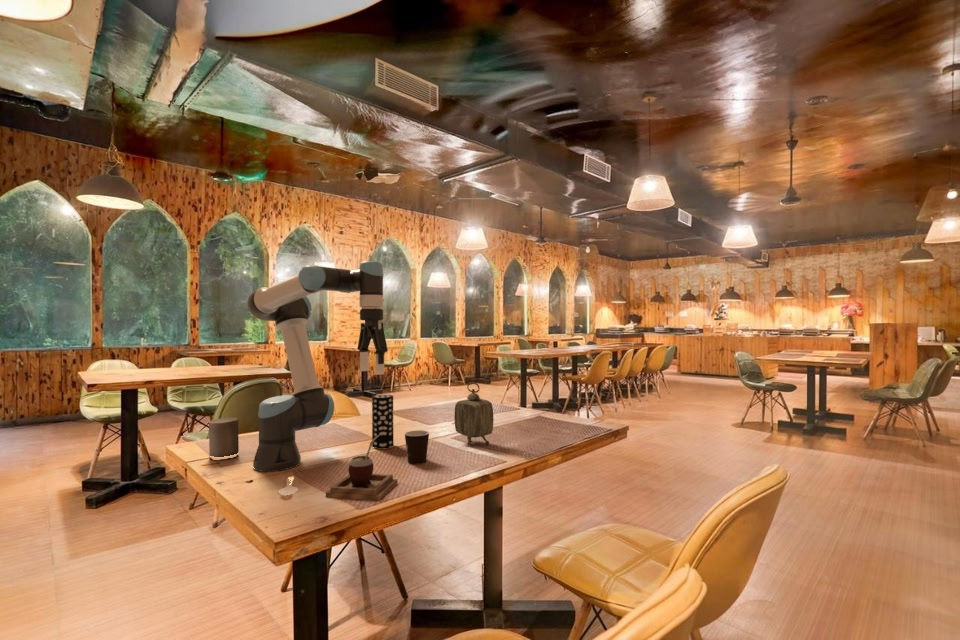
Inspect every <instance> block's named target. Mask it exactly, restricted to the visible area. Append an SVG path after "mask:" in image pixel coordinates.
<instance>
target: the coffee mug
mask: <svg viewBox="0 0 960 640" xmlns="http://www.w3.org/2000/svg"><path fill="white" fill-rule="evenodd" d="M429 437H430V432H429V431H427V430H421V429H420V430H419V429H418V430H410V431H406V432H405V433H404V438H405V439H404V441H405V448H406V456H407V463H408V464H411V465H421V464H425V463H427V458H428V457H427V456H428V447H429Z"/></svg>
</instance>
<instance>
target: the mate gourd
mask: <svg viewBox="0 0 960 640" xmlns="http://www.w3.org/2000/svg"><path fill="white" fill-rule="evenodd" d="M380 435H381V434H379V435H378V436H376V437H375V438H374V439H373V440H372V439H371V441H370V443H369V447H368V450H367V453H366V455H359V456H355V457H352V459H351V460H350V462H349V463H348V469H347V470H348V475H350V477H351V482H352V486H351V487H356V488H357V487H360V486H361V487H364V488H368V486H367V484H370V483H371V481H370V477H371V476H372V474H374V463H373V462H374V461H373V460H372V459H371V457H370V456H369V454H370V453H371V452H370V451H371V449H372V445H373V442H374V440H375V439H376V438H377V437H379V436H380Z"/></svg>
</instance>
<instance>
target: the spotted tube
mask: <svg viewBox="0 0 960 640" xmlns="http://www.w3.org/2000/svg"><path fill="white" fill-rule="evenodd" d="M371 434H372V435H371V437H372V439H371V441H372V440H373V439H374V438H375V437H376V436H378V435H379V434H381V435H380V436H379V437H377V438H376V439H375V440H374V442H373V445H372V446H371V448H372V447H374V448H373V449H375V448H388V449H390V448H389V447H391V448H393V447H394V446H393V445H394V395H392V394H375V395H373V396H371ZM392 446H393V447H392Z"/></svg>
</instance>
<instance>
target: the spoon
mask: <svg viewBox="0 0 960 640" xmlns="http://www.w3.org/2000/svg"><path fill="white" fill-rule="evenodd" d="M290 481H291V480H290ZM290 481H289V479H287V478H286V486H285V487H283V488H282V487H281V489H279V490H278V495H280V496H284V497H285V496H286V497H287V495H288V496H291V494H292V495H294V494H296V493H297V492H298V490H299V489H298V487H297V486H293V484H291V485H289V484H290V483H291V482H290ZM287 483H288V484H287Z"/></svg>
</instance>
